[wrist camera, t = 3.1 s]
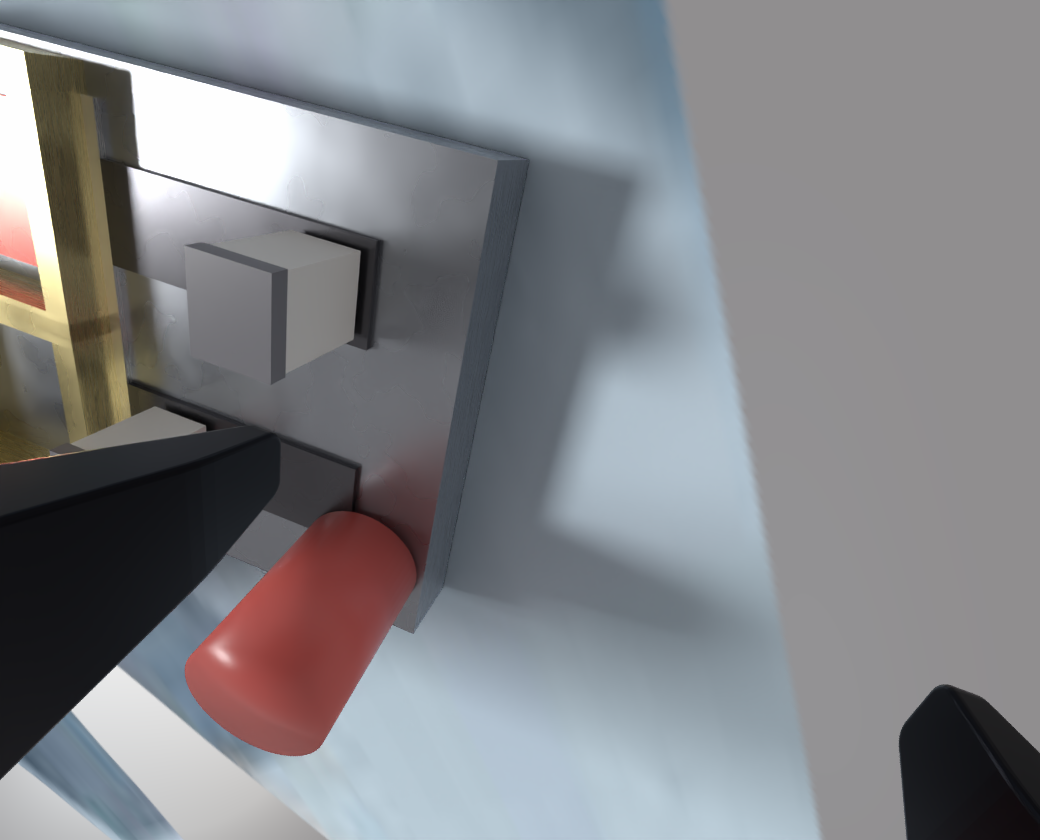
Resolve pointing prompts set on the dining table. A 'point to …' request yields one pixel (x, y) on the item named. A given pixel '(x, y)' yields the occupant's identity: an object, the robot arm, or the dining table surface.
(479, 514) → the dining table surface
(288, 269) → the block
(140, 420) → the block
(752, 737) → the dining table surface
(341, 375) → the panel
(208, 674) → the red rounded cylinder
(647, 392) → the dining table surface
